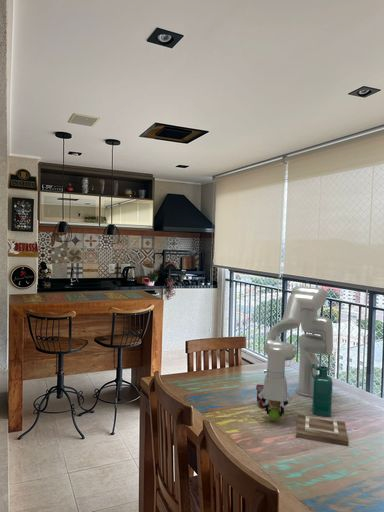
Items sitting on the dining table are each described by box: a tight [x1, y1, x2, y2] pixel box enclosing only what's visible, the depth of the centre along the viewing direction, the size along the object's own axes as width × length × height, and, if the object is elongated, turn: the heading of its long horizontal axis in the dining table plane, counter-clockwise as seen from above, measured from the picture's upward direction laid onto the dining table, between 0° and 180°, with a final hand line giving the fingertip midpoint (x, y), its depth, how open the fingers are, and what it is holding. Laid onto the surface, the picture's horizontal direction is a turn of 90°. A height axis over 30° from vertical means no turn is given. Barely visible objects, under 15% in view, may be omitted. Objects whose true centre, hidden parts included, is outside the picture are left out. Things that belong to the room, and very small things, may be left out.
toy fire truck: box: [255, 383, 281, 409], centre depth 188 cm, size 7×12×10 cm, turn 84°
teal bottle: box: [311, 364, 333, 418], centre depth 183 cm, size 10×8×22 cm
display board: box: [295, 414, 349, 447], centre depth 164 cm, size 18×20×3 cm
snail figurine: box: [267, 400, 281, 421], centre depth 171 cm, size 5×6×12 cm
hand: (274, 413), depth 171 cm, fingers closed on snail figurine, 5 cm apart
